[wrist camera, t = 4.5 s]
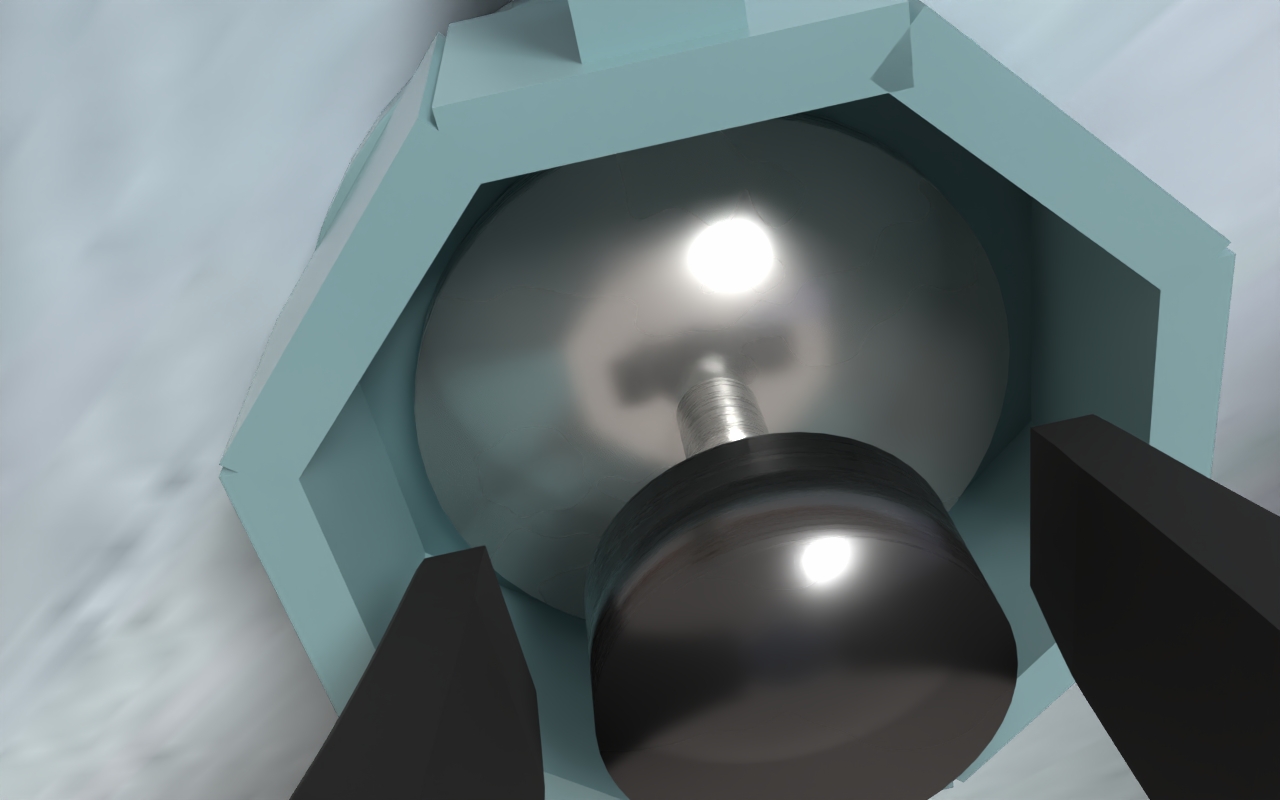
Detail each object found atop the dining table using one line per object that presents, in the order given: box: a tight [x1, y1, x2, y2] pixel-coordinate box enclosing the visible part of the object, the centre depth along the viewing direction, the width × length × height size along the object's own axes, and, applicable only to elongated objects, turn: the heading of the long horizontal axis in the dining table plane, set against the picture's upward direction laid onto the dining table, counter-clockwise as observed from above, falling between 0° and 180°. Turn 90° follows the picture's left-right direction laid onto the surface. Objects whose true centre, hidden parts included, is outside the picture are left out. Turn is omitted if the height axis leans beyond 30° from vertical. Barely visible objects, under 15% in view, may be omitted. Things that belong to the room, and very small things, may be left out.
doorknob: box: [414, 112, 1018, 800], centre depth 11 cm, size 7×7×5 cm
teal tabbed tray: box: [219, 0, 1236, 800], centre depth 12 cm, size 10×12×4 cm
